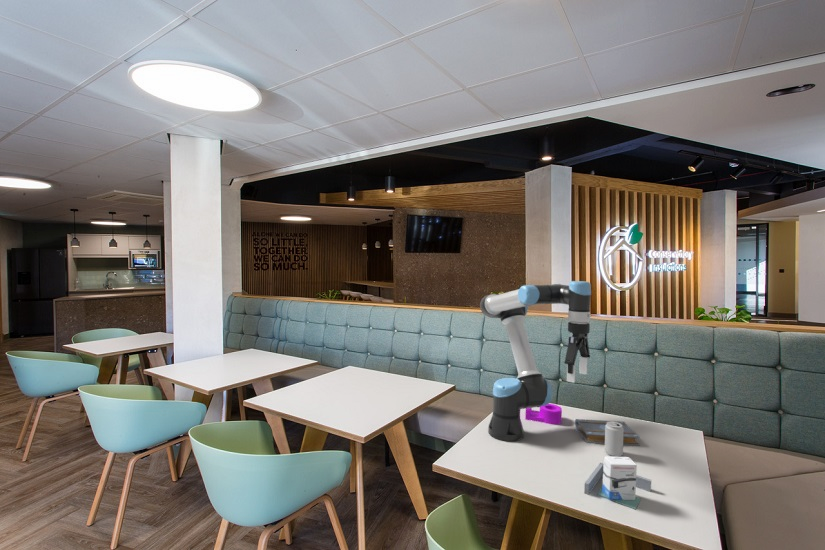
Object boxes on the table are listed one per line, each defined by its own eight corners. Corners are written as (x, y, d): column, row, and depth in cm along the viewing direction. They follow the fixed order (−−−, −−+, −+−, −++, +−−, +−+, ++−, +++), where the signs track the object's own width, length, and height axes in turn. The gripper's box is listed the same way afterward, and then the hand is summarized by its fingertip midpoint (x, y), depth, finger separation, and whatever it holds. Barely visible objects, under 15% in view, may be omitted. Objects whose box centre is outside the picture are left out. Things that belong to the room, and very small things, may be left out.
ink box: (609, 500, 124) (610, 463, 123) (601, 490, 129) (603, 455, 128) (636, 500, 124) (637, 464, 123) (627, 491, 129) (628, 456, 128)
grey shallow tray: (622, 429, 177) (623, 419, 177) (640, 447, 161) (640, 435, 161) (574, 427, 179) (575, 416, 179) (587, 444, 163) (587, 432, 163)
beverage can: (624, 458, 150) (626, 428, 150) (607, 456, 152) (608, 426, 151) (619, 450, 157) (620, 421, 156) (602, 449, 158) (603, 420, 157)
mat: (597, 494, 127) (597, 493, 127) (603, 485, 132) (603, 484, 132) (635, 509, 120) (635, 508, 120) (640, 499, 125) (640, 498, 125)
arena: (584, 493, 128) (584, 482, 128) (599, 472, 141) (600, 462, 140) (639, 514, 117) (640, 503, 117) (650, 490, 130) (651, 479, 130)
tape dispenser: (561, 418, 189) (561, 405, 188) (561, 426, 179) (561, 412, 179) (527, 412, 194) (527, 400, 194) (525, 420, 185) (525, 407, 185)
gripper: (577, 327, 135) (575, 387, 136) (599, 319, 154) (597, 372, 155) (556, 324, 140) (554, 383, 141) (579, 317, 159) (578, 368, 160)
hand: (577, 377), depth 148 cm, fingers open, 13 cm apart
